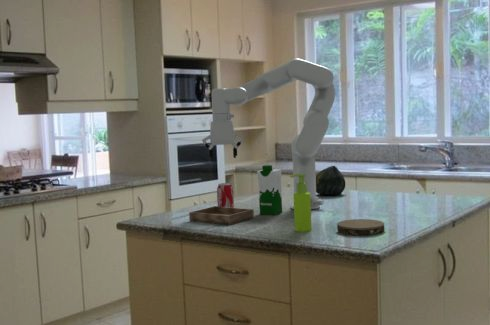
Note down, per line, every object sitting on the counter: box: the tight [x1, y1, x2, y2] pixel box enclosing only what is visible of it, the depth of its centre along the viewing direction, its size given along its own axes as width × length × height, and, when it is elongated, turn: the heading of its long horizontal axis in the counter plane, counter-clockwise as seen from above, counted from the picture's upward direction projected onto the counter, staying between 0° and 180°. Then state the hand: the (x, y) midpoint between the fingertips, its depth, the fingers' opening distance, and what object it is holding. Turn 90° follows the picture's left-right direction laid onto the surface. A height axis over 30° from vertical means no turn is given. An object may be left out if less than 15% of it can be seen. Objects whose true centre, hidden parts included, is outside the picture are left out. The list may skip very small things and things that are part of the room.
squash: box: [315, 165, 346, 196], centre depth 300 cm, size 14×15×15 cm
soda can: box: [216, 182, 235, 208], centre depth 264 cm, size 7×7×12 cm
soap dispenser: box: [289, 174, 312, 233], centre depth 218 cm, size 6×7×20 cm
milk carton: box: [256, 164, 283, 216], centre depth 256 cm, size 9×9×20 cm
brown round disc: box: [336, 218, 385, 237], centre depth 214 cm, size 16×16×3 cm
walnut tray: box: [188, 205, 255, 226], centre depth 247 cm, size 20×16×4 cm
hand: (223, 158), depth 263 cm, fingers open, 9 cm apart
